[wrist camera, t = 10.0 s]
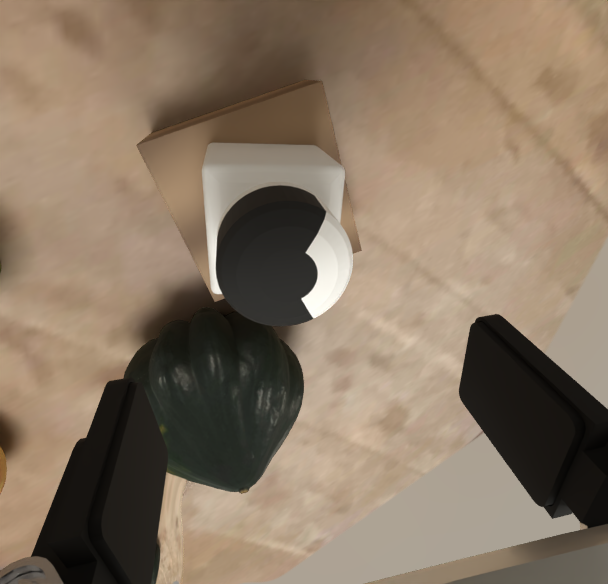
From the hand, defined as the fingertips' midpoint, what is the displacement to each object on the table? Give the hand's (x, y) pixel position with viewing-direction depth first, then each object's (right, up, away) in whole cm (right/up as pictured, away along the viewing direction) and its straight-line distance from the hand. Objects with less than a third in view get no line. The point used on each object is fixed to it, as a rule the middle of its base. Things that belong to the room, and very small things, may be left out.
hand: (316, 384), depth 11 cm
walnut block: (-4, +12, +21) cm, 24 cm away
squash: (-9, -3, +28) cm, 30 cm away
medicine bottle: (-3, +9, +16) cm, 19 cm away
